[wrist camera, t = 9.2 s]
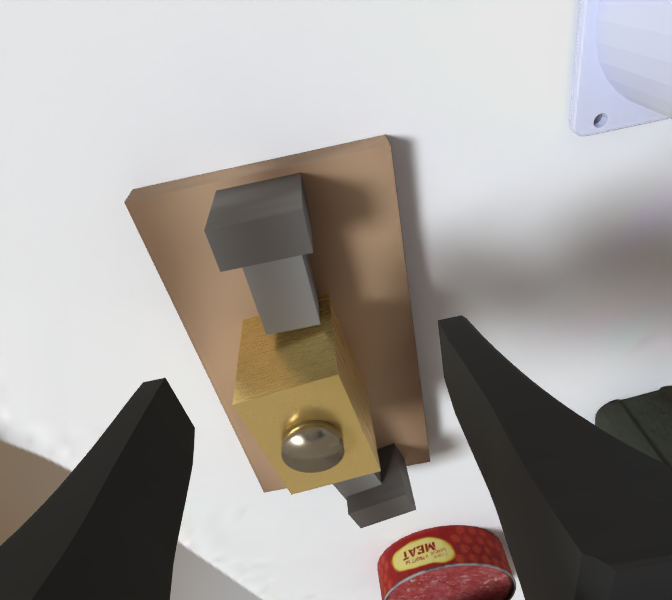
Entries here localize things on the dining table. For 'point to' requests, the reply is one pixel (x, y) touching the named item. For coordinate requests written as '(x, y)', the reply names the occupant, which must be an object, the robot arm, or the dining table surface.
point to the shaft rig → (299, 287)
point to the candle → (641, 423)
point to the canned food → (446, 566)
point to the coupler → (306, 402)
